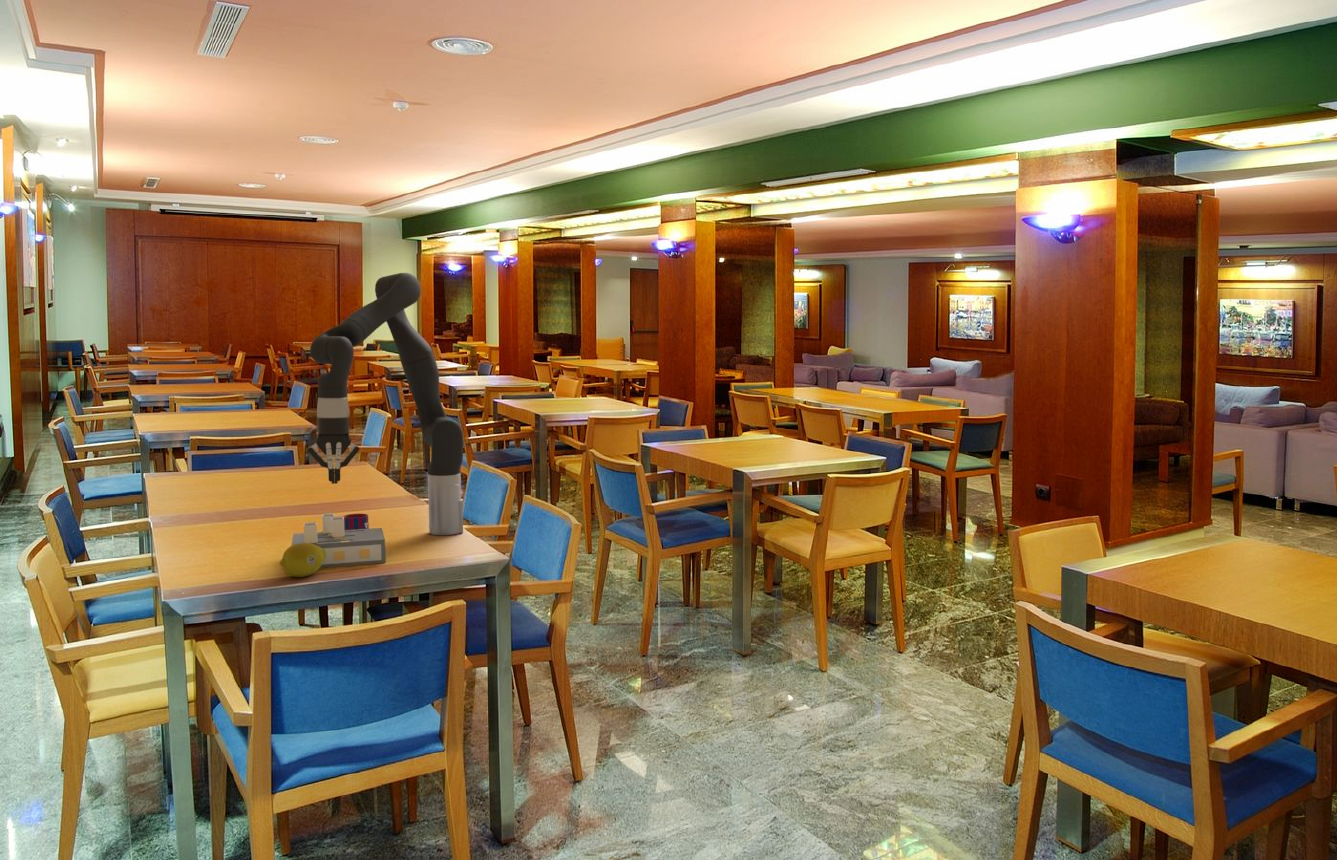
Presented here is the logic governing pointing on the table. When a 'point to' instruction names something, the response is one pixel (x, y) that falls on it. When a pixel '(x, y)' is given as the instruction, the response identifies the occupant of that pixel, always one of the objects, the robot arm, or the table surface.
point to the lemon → (302, 559)
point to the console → (350, 547)
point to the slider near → (310, 532)
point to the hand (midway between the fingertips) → (334, 483)
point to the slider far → (327, 522)
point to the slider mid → (338, 527)
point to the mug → (356, 521)
